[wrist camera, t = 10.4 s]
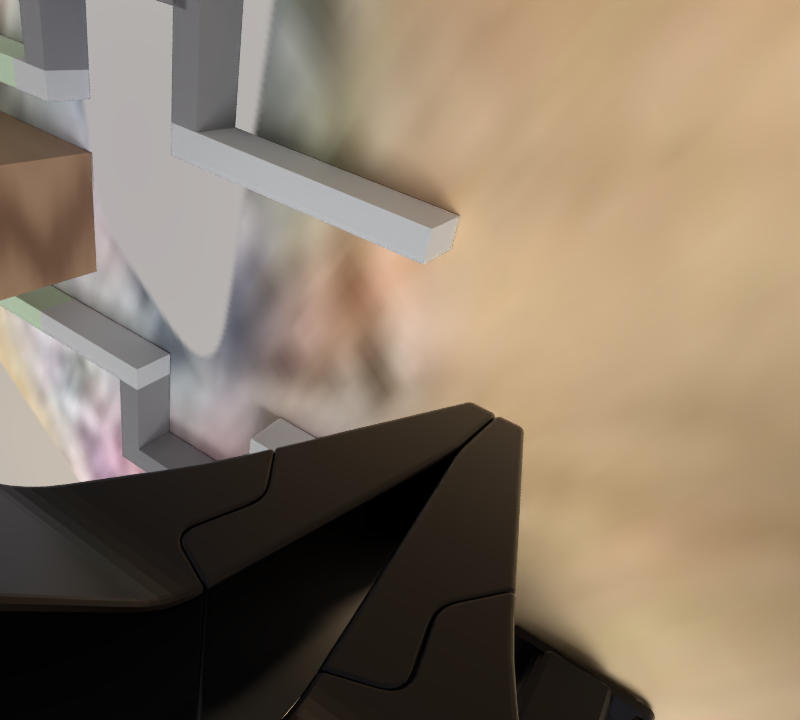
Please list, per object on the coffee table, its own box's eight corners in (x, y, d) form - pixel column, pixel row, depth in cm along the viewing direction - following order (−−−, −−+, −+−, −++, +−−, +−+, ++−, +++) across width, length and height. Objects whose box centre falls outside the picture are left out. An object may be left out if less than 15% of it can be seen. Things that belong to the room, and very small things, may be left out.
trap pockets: (285, 524, 32) (259, 548, 31) (91, 398, 37) (59, 413, 36) (366, 12, 20) (328, 9, 19) (60, -76, 25) (11, -85, 23)
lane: (384, 500, 28) (359, 527, 27) (76, 318, 35) (42, 331, 33) (459, 215, 21) (432, 228, 20) (57, 57, 28) (12, 57, 26)
